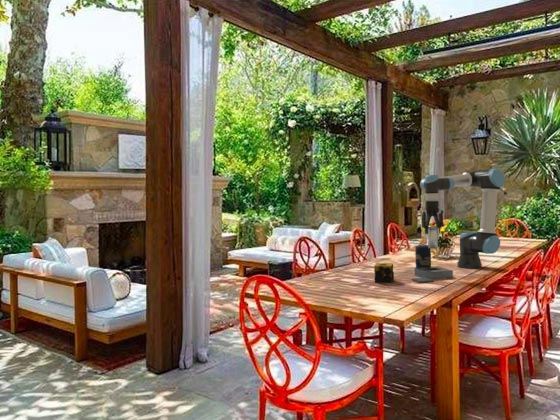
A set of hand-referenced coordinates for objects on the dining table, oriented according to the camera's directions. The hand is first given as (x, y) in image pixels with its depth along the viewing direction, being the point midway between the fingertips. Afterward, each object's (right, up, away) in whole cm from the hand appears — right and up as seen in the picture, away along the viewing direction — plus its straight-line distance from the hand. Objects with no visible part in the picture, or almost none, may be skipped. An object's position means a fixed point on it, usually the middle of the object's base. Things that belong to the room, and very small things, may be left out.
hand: (432, 239), depth 288 cm
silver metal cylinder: (0, -5, 0) cm, 5 cm away
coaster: (-10, -24, -12) cm, 28 cm away
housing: (+1, -23, +1) cm, 23 cm away
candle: (-31, -24, -8) cm, 40 cm away
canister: (-1, -22, +16) cm, 28 cm away
